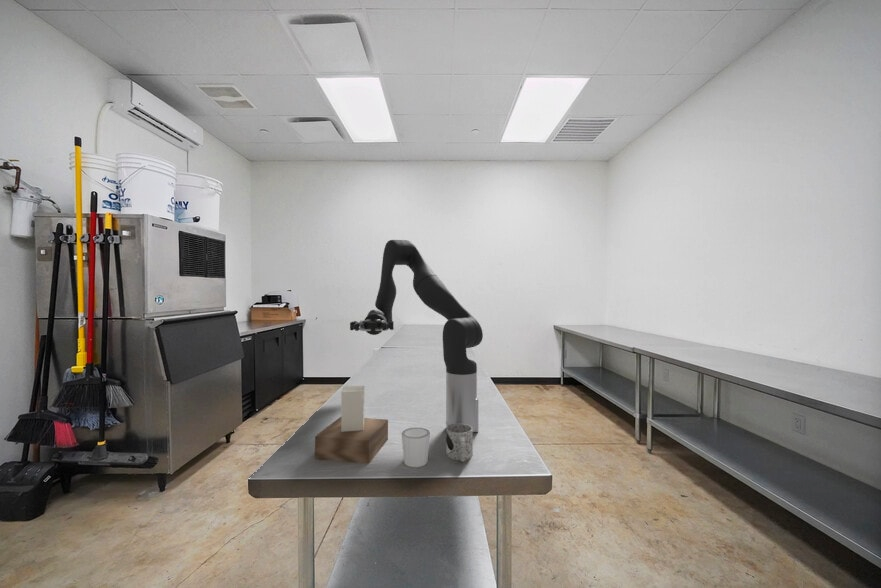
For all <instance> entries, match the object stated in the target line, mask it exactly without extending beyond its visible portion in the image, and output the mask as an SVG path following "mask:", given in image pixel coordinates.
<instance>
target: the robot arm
mask: <svg viewBox="0 0 881 588" xmlns="http://www.w3.org/2000/svg"><path fill="white" fill-rule="evenodd" d="M382 254H383V256H382V262H381V263H382V265H381V274H380V283H379V288H378V292H377V295H376V298H375V299H376V300H375V304H374V305H375V308H376V309H377V310H376V309H372V310H370V311H369V312H368V313H367V316H366V317H365V318H364V319H363V320H359V321H357V320H354V321H351V322H349V330H350V331H353V330H355V332H358V331H361V332H366V333H367V334H369V335H371V336H377V335H379V334H381V333H382V332H384V331H386V332H387V331H388V330H390V331H393V330H395V329H394V320H393V307H394V303H395V301H396V300H395V299H396V296H397V286H396V284H395V280H394V277H393V272H394V268H395V266H407V267H408V268H409V269H410V270H411V272H412V273H413V280H412V287H413V289H414V292H415V294H416V295H417V297H418V298H419V299H420V300H421V301H422V303H423V304H424V305H425V306H427V307H428V308H429V309H431V310H432V311H434V312H436V313H438V314H439V315H441V316H442V317H444V318H445V319H446V320H447V321H446V322H445V323H444V325H443V328H442V329H443V330H442V353H443V362H444V364H445V374H446V375H445V405H446V406H445V427H447V426H448V425H450V424H455V423H462V424H467V425H470V426H471V427H472V429H473V433H478V432H479V398H478V397H477V396H478V392H477V391H478V388H477V387H478V386H477V385H478V383H477V381H478V377H477V376H478V374H477V373H478V372H477V371H478V366H477V363H476V361H474V360H472V359H470V358H468V355H467V349H470V348H474V347H477V346H478V345H480V344H481V343H482V342H483V339H484V338H483V337H484V335H483V334H484V333H483V330H482V327H481V324H480V323H479V320H477V319H476V318H475V317H474V316H473V315H472V314H471V313H470V312H469V311H468V310H467V309H466V308H465V307H464V306H463V305H462V304H461V303H460V302H459V301H458V299H456V298H455V296H454V295H453V294H452V293H451V291H450V290H449V289H448V288H447V287H446V285H445V284H444V283H443V282H442V280H441V279H440V278H439V277H438V275H437V274H436V273H435V272H434V271H433V270H432V269H431V267H430V266H429V264H428V263H427V262H426V260H425V259H424V258H423V256H422V254H421V253H420V251H419V249H418V248H417V246H416V245H415V244H414V242H412V241H410V240H406V239H390V240H388V241H387V242H385V245H384V250H383V253H382Z"/></svg>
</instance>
